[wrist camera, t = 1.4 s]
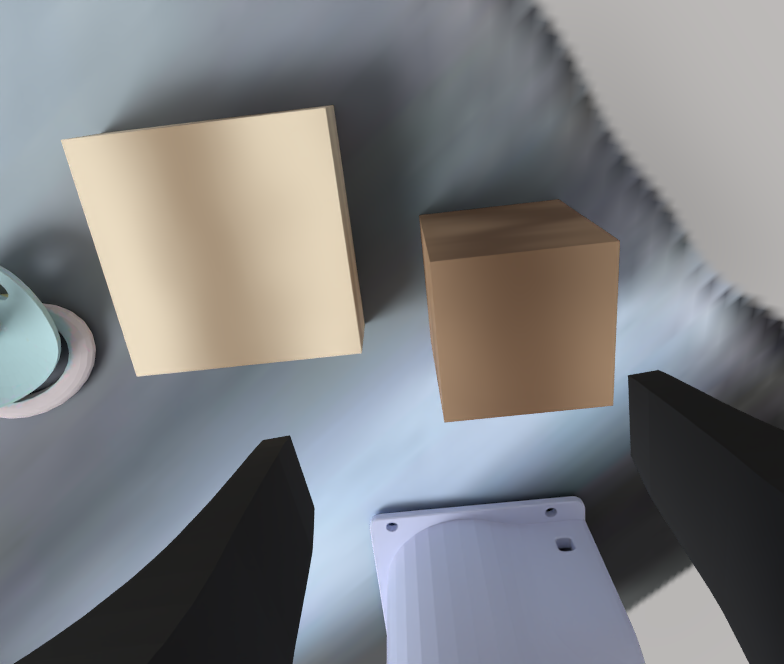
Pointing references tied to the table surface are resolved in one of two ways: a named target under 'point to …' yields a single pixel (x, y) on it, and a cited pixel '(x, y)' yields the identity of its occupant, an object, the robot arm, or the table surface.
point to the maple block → (224, 239)
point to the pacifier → (38, 351)
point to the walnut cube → (520, 309)
